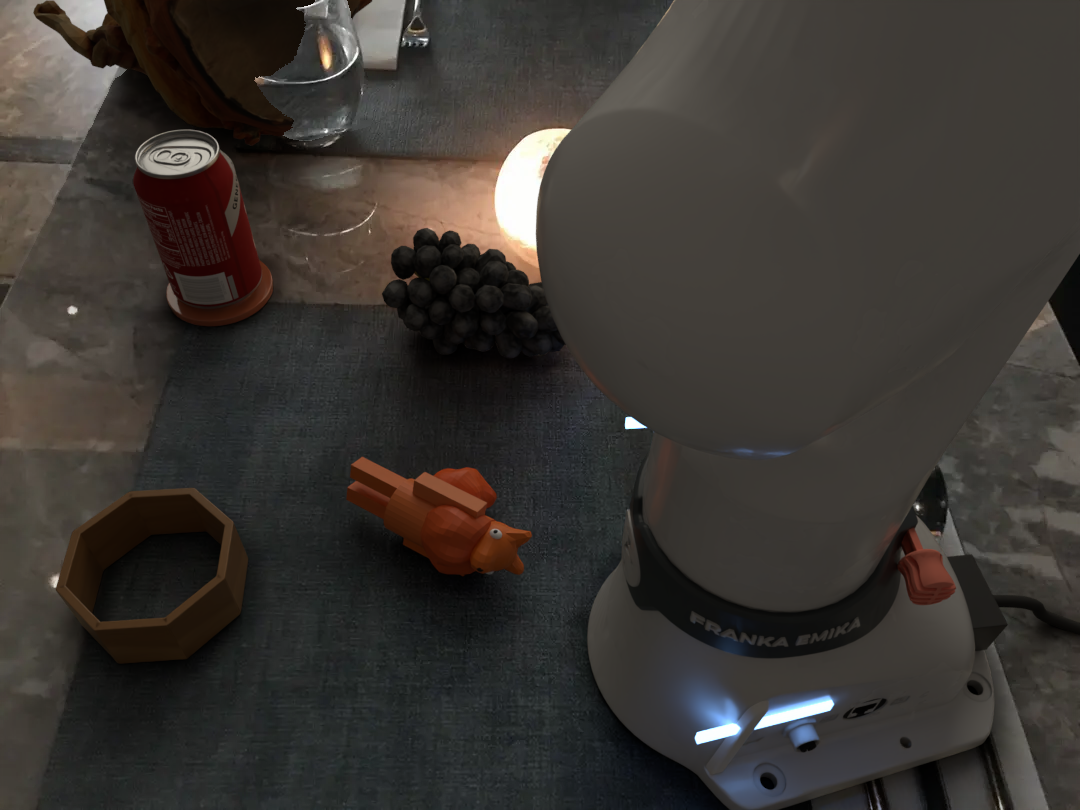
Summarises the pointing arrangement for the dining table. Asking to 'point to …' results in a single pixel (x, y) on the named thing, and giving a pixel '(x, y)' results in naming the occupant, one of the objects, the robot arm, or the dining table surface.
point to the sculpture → (198, 54)
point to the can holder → (124, 531)
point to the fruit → (469, 298)
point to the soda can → (197, 218)
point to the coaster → (225, 313)
